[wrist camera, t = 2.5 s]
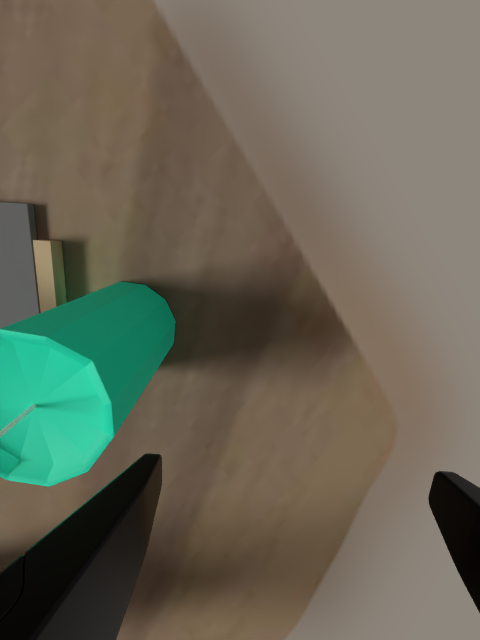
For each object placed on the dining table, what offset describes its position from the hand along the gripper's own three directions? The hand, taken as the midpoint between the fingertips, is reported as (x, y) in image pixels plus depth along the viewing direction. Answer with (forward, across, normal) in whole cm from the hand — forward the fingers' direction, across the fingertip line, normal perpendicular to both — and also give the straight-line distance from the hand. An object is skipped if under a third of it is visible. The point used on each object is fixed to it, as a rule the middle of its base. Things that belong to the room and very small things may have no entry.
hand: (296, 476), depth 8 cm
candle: (+13, +9, 0) cm, 16 cm away
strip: (+13, +14, 0) cm, 19 cm away
